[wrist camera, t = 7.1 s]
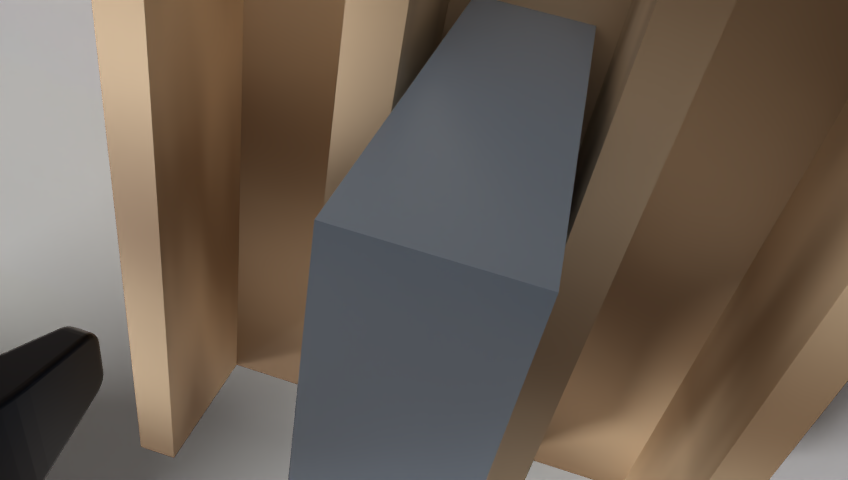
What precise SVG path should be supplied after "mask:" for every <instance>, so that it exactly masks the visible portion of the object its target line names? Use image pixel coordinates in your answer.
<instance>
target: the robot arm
mask: <svg viewBox="0 0 848 480" xmlns="http://www.w3.org/2000/svg"><path fill="white" fill-rule="evenodd" d="M102 380H103V367H102V360H101V354H100V347H99V341H98V338H97V337H96V336H95V334H93V333H91V332H87V331H84V330H81V329H78V328H75V327H70V326H69V327H63V328H60V329H57V330H55V331H53V332H51V333H48V334H46V335H44V336H42V337H39V338H37V339H35V340H33V341H30V342H28V343H26V344H24V345H21V346H19V347H17V348H15V349H12V350H10V351H8V352H6V353H3V354H1V355H0V480H44V479H45V477H46V476H47V474H48V473H49V471H50V469H51V468H52V466H53V465H54V463H55V461H56V460H57V458H58V456H59V455H60V453H61V451H62V450H63V448H64V446H65V445H66V443H67V442H68V440H69V438H70V437H71V435H72V433H73V432H74V430H75V428H76V427H77V425H78V424H79V422H80V420H81V419H82V417H83V415H84V414H85V412H86V410H87V409H88V407H89V406H90V404H91V402H92V401H93V399H94V397H95V396H96V394H97V392H98V391H99V389H100V386H101V384H102Z"/></svg>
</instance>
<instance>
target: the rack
mask: <svg viewBox="0 0 848 480" xmlns="http://www.w3.org/2000/svg"><path fill="white" fill-rule="evenodd" d="M470 1H471V0H92V9H93V18H94V27H95V36H96V45H97V54H98V63H99V72H100V81H101V91H102V100H103V109H104V118H105V127H106V136H107V145H108V154H109V163H110V172H111V181H112V190H113V199H114V208H115V217H116V226H117V235H118V244H119V253H120V262H121V271H122V280H123V289H124V298H125V307H126V316H127V325H128V334H129V343H130V352H131V361H132V370H133V379H134V388H135V397H136V406H137V415H138V424H139V433H140V442H141V447H143V448H146V449H149V450H152V451H155V452H158V453H161V454H164V455H167V456H170V457H173V458H174V457H175V456H176V454H177V453H178V451H179V450H180V448H181V447H182V445H183V444H184V442H185V441H186V439H187V438H188V436H189V435H190V433H191V432H192V430H193V429H194V427H195V426H196V424H197V423H198V421H199V420H200V418H201V417H202V415H203V414H204V412H205V411H206V410H207V408H208V407H209V405H210V404H211V402H212V401H213V399H214V398H215V396H216V395H217V393H218V392H219V390H220V389H221V387H222V386H223V384H224V383H225V381H226V380H227V378H228V377H229V375H230V374H231V372H232V371H233V369H234V368H235V366H236V365H239V366H242V367H246V368H249V369H252V370H255V371H258V372H261V373H264V374H267V375H270V376H274V377H277V378H280V379H283V380H286V381H289V382H292V383H295V384H298V378H299V368H300V358H301V348H302V338H303V328H304V318H305V308H306V298H307V288H308V278H309V268H310V258H311V248H312V238H313V228H314V219H315V218H316V217H317V215H318V214H319V212H320V211H321V210H322V208H323V207H324V205H325V204H326V203H327V201H328V200H329V198H330V197H331V196H332V194H333V193H334V191H335V190H336V189H337V187H338V186H339V184H340V183H341V182H342V180H343V179H344V177H345V176H346V175H347V173H348V172H349V170H350V169H351V168H352V166H353V165H354V163H355V162H356V161H357V159H358V158H359V156H360V155H361V154H362V152H363V151H364V149H365V148H366V147H367V145H368V144H369V142H370V141H371V140H372V138H373V137H374V135H375V134H376V133H377V131H378V130H379V128H380V127H381V126H382V124H383V123H384V121H385V120H386V119H387V117H388V116H389V114H390V113H391V112H392V110H393V109H394V107H395V106H396V105H397V103H398V102H399V100H400V99H401V98H402V96H403V95H404V93H405V92H406V91H407V89H408V88H409V86H410V85H411V84H412V82H413V81H414V79H415V78H416V77H417V75H418V74H419V72H420V71H421V70H422V68H423V67H424V65H425V64H426V63H427V61H428V60H429V58H430V57H431V56H432V54H433V53H434V51H435V50H436V49H437V47H438V46H439V44H440V43H441V42H442V40H443V39H444V37H445V36H446V35H447V33H448V32H449V30H450V29H451V28H452V26H453V25H454V23H455V22H456V21H457V19H458V18H459V16H460V15H461V14H462V12H463V11H464V9H465V8H466V7H467V5H468V4H469V2H470ZM498 1H502V2H506V3H510V4H513V5H517V6H521V7H525V8H529V9H533V10H537V11H541V12H544V13H548V14H552V15H556V16H560V17H564V18H568V19H572V20H575V21H579V22H583V23H587V24H591V25H595V26H596V32H595V39H594V46H593V53H592V60H591V67H590V74H589V81H588V88H587V96H586V103H585V110H584V117H583V124H582V131H581V138H580V145H579V152H578V159H577V166H576V174H575V181H574V188H573V195H572V202H571V209H570V216H569V223H568V230H567V237H566V244H565V252H564V259H563V266H562V273H561V280H560V287H559V293H558V296H557V298H556V301H555V303H554V306H553V309H552V311H551V314H550V316H549V319H548V321H547V324H546V327H545V329H544V332H543V334H542V337H541V339H540V342H539V345H538V347H537V350H536V352H535V355H534V358H533V360H532V363H531V365H530V368H529V370H528V373H527V376H526V378H525V381H524V383H523V386H522V388H521V391H520V394H519V396H518V399H517V401H516V404H515V407H514V409H513V412H512V414H511V417H510V419H509V422H508V425H507V427H506V430H505V432H504V435H503V438H502V440H501V443H500V445H499V448H498V450H497V453H496V456H495V458H494V461H493V463H492V466H491V468H490V471H489V474H488V476H487V479H486V480H525V478H526V476H527V474H528V472H529V469H530V467H531V465H532V463H533V460H534V461H537V462H540V463H543V464H546V465H549V466H553V467H556V468H559V469H562V470H565V471H568V472H571V473H574V474H577V475H580V476H584V477H587V478H590V479H593V480H769V479H770V478H771V477H772V475H773V474H774V473H775V472H776V470H777V469H778V468H779V467H780V465H781V464H782V463H783V462H784V460H785V459H786V458H787V456H788V455H789V454H790V453H791V451H792V450H793V449H794V448H795V446H796V445H797V444H798V443H799V441H800V440H801V439H802V438H803V436H804V435H805V434H806V433H807V431H808V430H809V429H810V428H811V426H812V425H813V424H814V423H815V421H816V420H817V419H818V418H819V416H820V415H821V414H822V413H823V411H824V410H825V409H826V407H827V406H828V405H829V404H830V402H831V401H832V400H833V399H834V397H835V396H836V395H837V394H838V392H839V391H840V390H841V389H842V387H843V386H844V385H845V384H846V382H847V381H848V0H498Z"/></svg>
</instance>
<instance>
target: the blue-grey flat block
mask: <svg viewBox="0 0 848 480" xmlns="http://www.w3.org/2000/svg"><path fill="white" fill-rule="evenodd" d="M595 32H596V26H595V25H591V24H587V23H583V22H579V21H575V20H572V19H568V18H564V17H560V16H556V15H552V14H548V13H544V12H541V11H537V10H533V9H529V8H525V7H521V6H517V5H513V4H510V3H506V2H502V1H498V0H471V1H470V2H469V4H468V5H467V7H466V8H465V9H464V11H463V12H462V14H461V15H460V16H459V18H458V19H457V21H456V22H455V23H454V25H453V26H452V28H451V29H450V30H449V32H448V33H447V35H446V36H445V37H444V39H443V40H442V42H441V43H440V44H439V46H438V47H437V49H436V50H435V51H434V53H433V54H432V56H431V57H430V58H429V60H428V61H427V63H426V64H425V65H424V67H423V68H422V70H421V71H420V72H419V74H418V75H417V77H416V78H415V79H414V81H413V82H412V84H411V85H410V86H409V88H408V89H407V91H406V92H405V93H404V95H403V96H402V98H401V99H400V100H399V102H398V103H397V105H396V106H395V107H394V109H393V110H392V112H391V113H390V114H389V116H388V117H387V119H386V120H385V121H384V123H383V124H382V126H381V127H380V128H379V130H378V131H377V133H376V134H375V135H374V137H373V138H372V140H371V141H370V142H369V144H368V145H367V147H366V148H365V149H364V151H363V152H362V154H361V155H360V156H359V158H358V159H357V161H356V162H355V163H354V165H353V166H352V168H351V169H350V170H349V172H348V173H347V175H346V176H345V177H344V179H343V180H342V182H341V183H340V184H339V186H338V187H337V189H336V190H335V191H334V193H333V194H332V196H331V197H330V198H329V200H328V201H327V203H326V204H325V205H324V207H323V208H322V210H321V211H320V212H319V214H318V215H317V217H316V218H315V219H314V228H313V238H312V248H311V258H310V268H309V278H308V288H307V298H306V308H305V318H304V328H303V338H302V348H301V358H300V368H299V378H298V388H297V398H296V408H295V418H294V428H293V438H292V448H291V458H290V468H289V478H288V480H486V479H487V476H488V474H489V471H490V468H491V466H492V463H493V461H494V458H495V456H496V453H497V450H498V448H499V445H500V443H501V440H502V438H503V435H504V432H505V430H506V427H507V425H508V422H509V419H510V417H511V414H512V412H513V409H514V407H515V404H516V401H517V399H518V396H519V394H520V391H521V388H522V386H523V383H524V381H525V378H526V376H527V373H528V370H529V368H530V365H531V363H532V360H533V358H534V355H535V352H536V350H537V347H538V345H539V342H540V339H541V337H542V334H543V332H544V329H545V327H546V324H547V321H548V319H549V316H550V314H551V311H552V309H553V306H554V303H555V301H556V298H557V296H558V293H559V287H560V280H561V273H562V266H563V259H564V252H565V244H566V237H567V230H568V223H569V216H570V209H571V202H572V195H573V188H574V181H575V174H576V166H577V159H578V152H579V145H580V138H581V131H582V124H583V117H584V110H585V103H586V96H587V88H588V81H589V74H590V67H591V60H592V53H593V46H594V39H595Z"/></svg>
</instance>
